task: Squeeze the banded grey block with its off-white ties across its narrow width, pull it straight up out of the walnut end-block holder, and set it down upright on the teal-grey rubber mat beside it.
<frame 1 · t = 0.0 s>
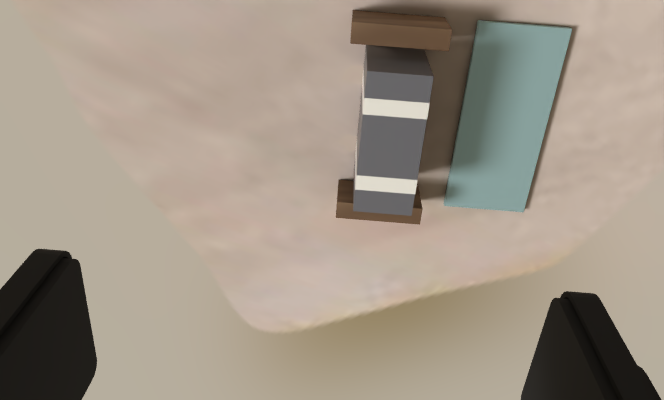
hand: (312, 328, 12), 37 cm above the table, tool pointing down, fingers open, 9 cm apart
rubber mat: (501, 122, 48), on the table
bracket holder: (386, 113, 48), on the table
banded grey block: (386, 113, 48), on the table
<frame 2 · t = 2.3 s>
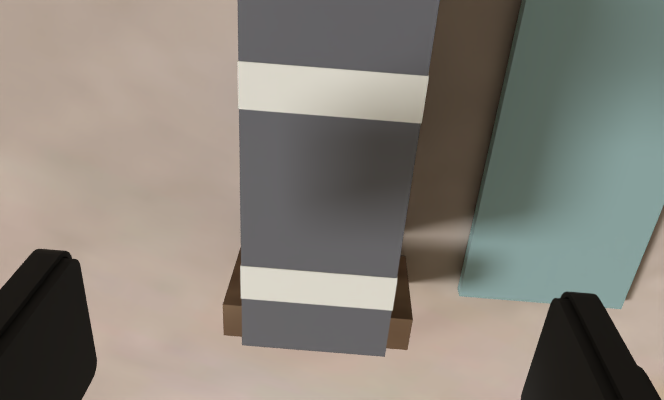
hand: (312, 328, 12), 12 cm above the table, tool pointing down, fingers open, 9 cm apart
rubber mat: (589, 126, 22), on the table
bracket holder: (334, 106, 22), on the table
banded grey block: (334, 106, 22), on the table
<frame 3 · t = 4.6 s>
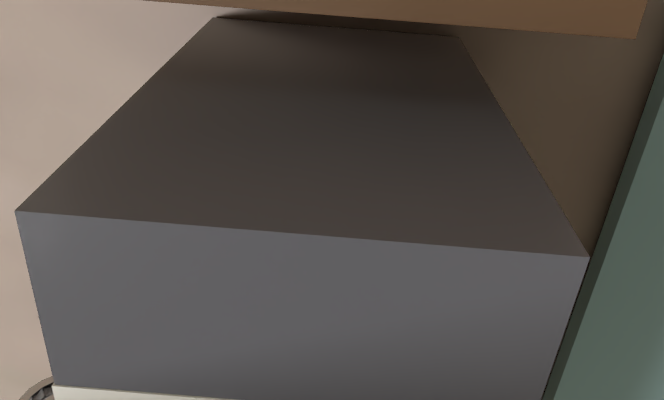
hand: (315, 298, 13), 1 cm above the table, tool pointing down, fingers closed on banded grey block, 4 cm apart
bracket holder: (318, 268, 13), on the table
banded grey block: (318, 271, 13), on the table, touching gripper
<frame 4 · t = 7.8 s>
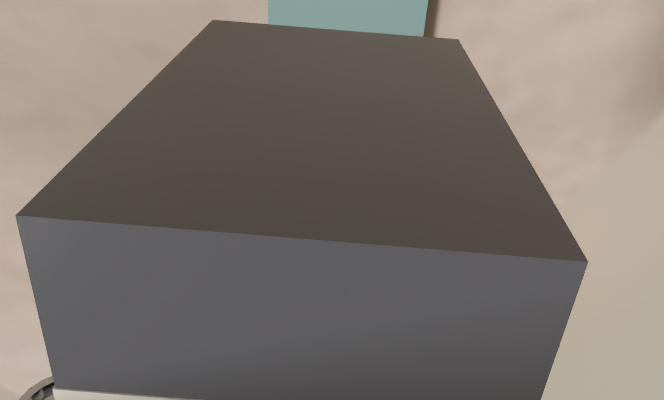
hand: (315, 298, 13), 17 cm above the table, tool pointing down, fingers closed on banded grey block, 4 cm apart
rubber mat: (343, 65, 28), on the table
banded grey block: (318, 272, 13), point 16 cm above the table, touching gripper
when the fingers open (2 cm above the table, at t = 11.3 s): banded grey block stays where it is, resting on rubber mat.
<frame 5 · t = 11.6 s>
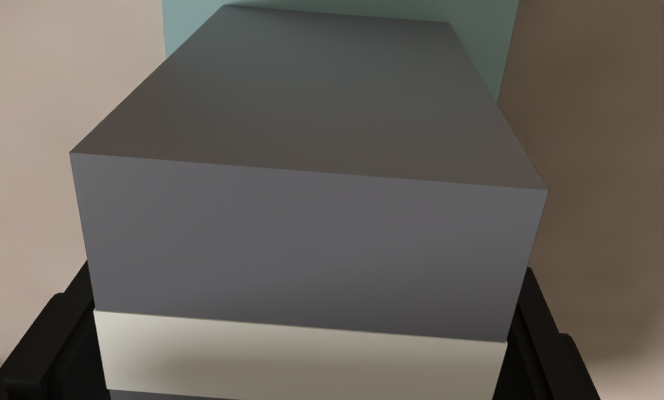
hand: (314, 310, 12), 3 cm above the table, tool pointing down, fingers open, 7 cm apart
rubber mat: (322, 234, 15), on the table
banded grey block: (320, 244, 14), point 1 cm above the table, touching rubber mat
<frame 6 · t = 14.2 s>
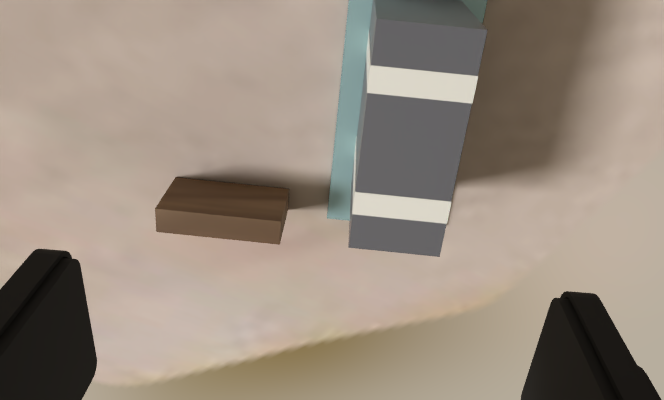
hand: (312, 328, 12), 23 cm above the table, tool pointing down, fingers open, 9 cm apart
rubber mat: (401, 97, 33), on the table
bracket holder: (233, 80, 33), on the table
banded grey block: (402, 99, 32), point 1 cm above the table, touching rubber mat
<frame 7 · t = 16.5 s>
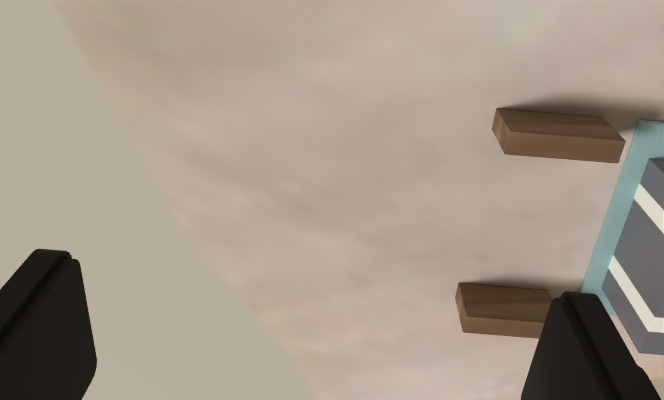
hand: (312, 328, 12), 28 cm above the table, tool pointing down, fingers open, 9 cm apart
rubber mat: (651, 226, 43), on the table
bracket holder: (521, 215, 43), on the table
banded grey block: (654, 229, 42), point 1 cm above the table, touching rubber mat
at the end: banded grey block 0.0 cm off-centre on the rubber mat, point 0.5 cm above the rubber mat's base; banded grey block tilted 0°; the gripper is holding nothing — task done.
